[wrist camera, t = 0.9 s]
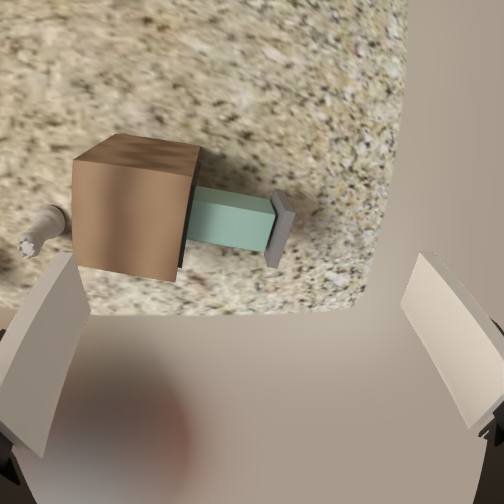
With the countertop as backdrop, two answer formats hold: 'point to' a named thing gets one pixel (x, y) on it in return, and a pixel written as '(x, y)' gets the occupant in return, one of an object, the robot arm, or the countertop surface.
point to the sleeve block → (133, 205)
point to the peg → (242, 221)
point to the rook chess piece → (41, 231)
